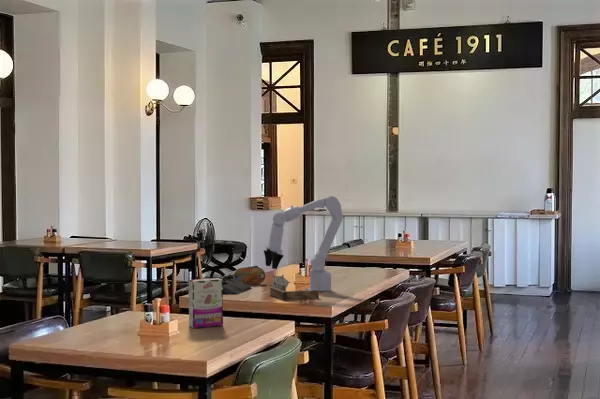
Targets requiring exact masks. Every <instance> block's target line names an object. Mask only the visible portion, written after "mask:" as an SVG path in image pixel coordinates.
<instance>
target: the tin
mask: <svg viewBox="0 0 600 399" xmlns="http://www.w3.org/2000/svg"><path fill="white" fill-rule="evenodd" d="M233 279H235V280H238V281H241V282H243V283H244V284H245V285H247V286H255V285H261V284H262V283H264V282H265V279H266V272H265V270H264V269H263V268H261V267H257V266H256V267H255V266H253V267H252V266H251V267H239V268H238V269H236V270H235V272H234V274H233Z"/></svg>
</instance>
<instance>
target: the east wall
mask: <svg viewBox="0 0 600 399" xmlns="http://www.w3.org/2000/svg"><path fill="white" fill-rule="evenodd" d="M269 287H270V288H269V292H270V293H269V296H270V295H271V297H273V298H276V299H278V298H279V300H281V301H288V300H287V299H285V298H287V296H286V294H287V291H286V294H284V296H286V297H284V296H282V294H283V292H285V291H283V290H280V289H277V288H274V287H271V286H269ZM282 297H283V298H284V299H285V300H283V298H282Z"/></svg>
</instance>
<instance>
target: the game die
mask: <svg viewBox="0 0 600 399" xmlns="http://www.w3.org/2000/svg"><path fill="white" fill-rule="evenodd" d="M272 277H273V278H272V281H271V283H270V284H269V285H268V286H269V287H274V288H277V289H280V290H283V291H285V292H287V288H288V285H289V284H290V283H291V281H288V280H287V279H286V277H284V274H282V275H278V276H276V275H274V274H272Z"/></svg>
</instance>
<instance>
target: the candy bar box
mask: <svg viewBox="0 0 600 399" xmlns="http://www.w3.org/2000/svg"><path fill="white" fill-rule="evenodd" d="M223 282H224V281H223V279H222V278H220V277H214V278H213V277H211V278H200V279H199V278H198V279H189V280H188V327H190V328H192V329H204V328H214V327H215V328H216V327H223V325H224V303H223V302H224V294H223Z"/></svg>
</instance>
